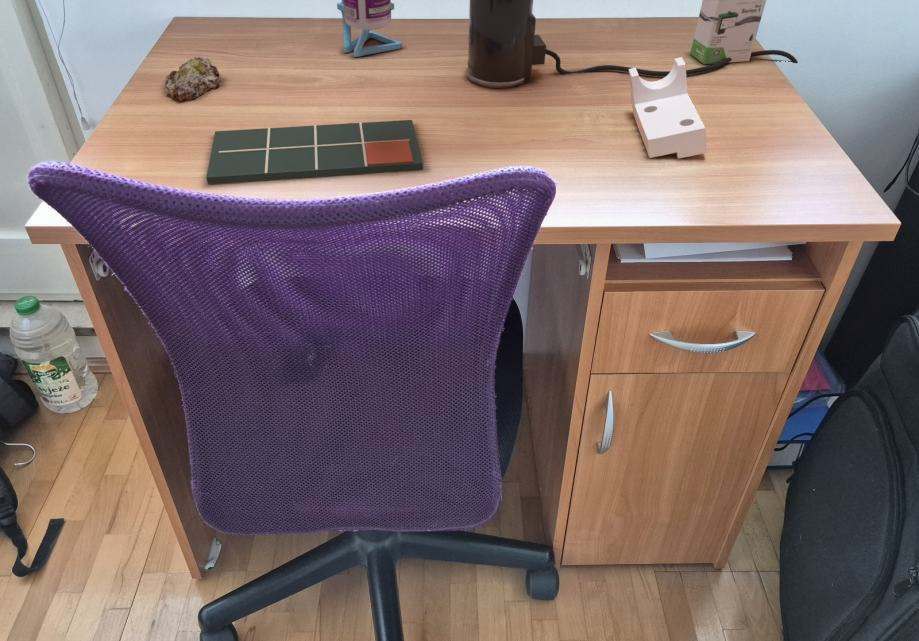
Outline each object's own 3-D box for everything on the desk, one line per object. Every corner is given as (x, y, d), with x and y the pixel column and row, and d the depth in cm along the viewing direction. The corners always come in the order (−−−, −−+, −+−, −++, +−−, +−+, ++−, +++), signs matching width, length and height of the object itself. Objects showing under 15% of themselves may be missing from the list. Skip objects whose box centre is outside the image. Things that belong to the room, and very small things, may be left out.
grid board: (412, 126, 99) (412, 118, 98) (423, 169, 90) (423, 161, 90) (216, 138, 96) (214, 129, 95) (207, 184, 87) (205, 175, 86)
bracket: (633, 119, 104) (628, 69, 99) (684, 108, 103) (681, 57, 98) (650, 164, 94) (645, 111, 89) (706, 152, 93) (704, 98, 88)
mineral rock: (171, 56, 110) (218, 44, 108) (186, 82, 113) (231, 71, 111) (143, 87, 103) (192, 75, 101) (159, 115, 105) (208, 104, 103)
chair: (333, 48, 120) (326, -29, 112) (371, 36, 124) (366, -40, 117) (365, 61, 116) (359, -18, 108) (402, 47, 121) (399, -30, 113)
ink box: (702, 65, 117) (721, -12, 109) (688, 53, 121) (705, -22, 113) (751, 61, 119) (772, -16, 111) (735, 50, 122) (755, -25, 114)
